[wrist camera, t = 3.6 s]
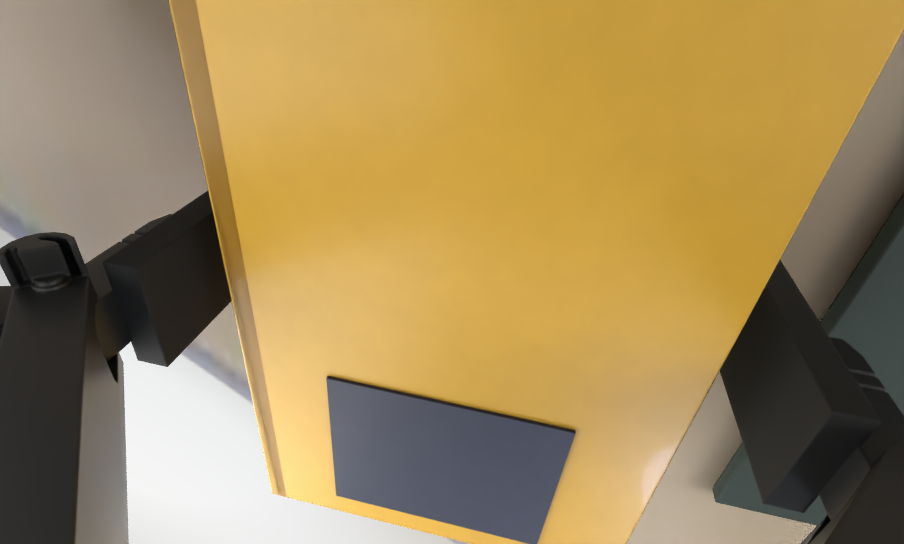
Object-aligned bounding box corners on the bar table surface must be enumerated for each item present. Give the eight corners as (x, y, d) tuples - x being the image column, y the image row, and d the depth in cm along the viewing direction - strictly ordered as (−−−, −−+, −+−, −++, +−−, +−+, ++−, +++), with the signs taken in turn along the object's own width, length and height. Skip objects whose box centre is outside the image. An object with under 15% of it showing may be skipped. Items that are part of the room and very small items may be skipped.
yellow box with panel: (306, -132, 11) (123, -176, 7) (801, -87, 10) (984, -104, 6) (338, 371, 20) (269, 496, 16) (600, 428, 19) (608, 582, 15)
